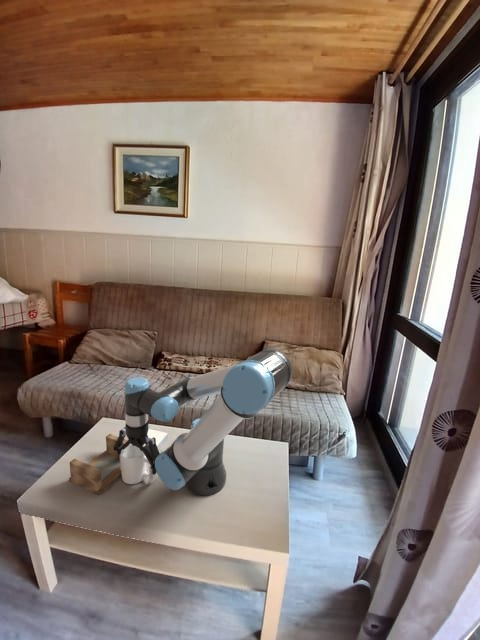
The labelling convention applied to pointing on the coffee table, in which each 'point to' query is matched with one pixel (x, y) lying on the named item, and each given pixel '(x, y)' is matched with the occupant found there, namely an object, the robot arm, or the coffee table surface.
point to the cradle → (98, 469)
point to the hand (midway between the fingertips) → (137, 473)
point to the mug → (133, 465)
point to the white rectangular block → (157, 437)
